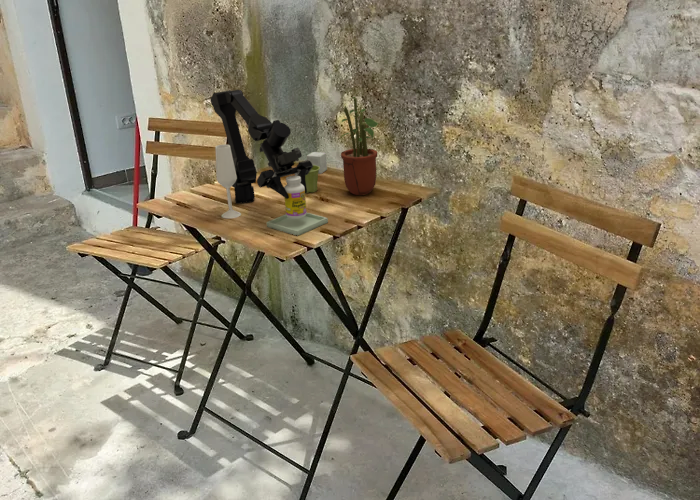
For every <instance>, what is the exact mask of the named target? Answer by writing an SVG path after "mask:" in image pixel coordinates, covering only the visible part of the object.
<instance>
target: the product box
mask: <svg viewBox="0 0 700 500" xmlns="http://www.w3.org/2000/svg"><path fill="white" fill-rule="evenodd" d="M306 160H309V161H311V163H312V165H316V166H319V167H320V169H319V173H318V175H321V174H323V173H324V172H326V171H327V170H328V165H327V164H328V163H327V153H326V152H320V151H319V152H317V151H312V152H311V153H308V154H307V155H306Z"/></svg>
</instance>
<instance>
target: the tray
mask: <svg viewBox="0 0 700 500" xmlns="http://www.w3.org/2000/svg"><path fill="white" fill-rule="evenodd" d="M327 223H329V219H328V217H325V216H322V215H318V214H314V213H310V212H307V211H306V216H304V217H302V218H298V219H292V218H288V217H287V216H286V213H285V214H283V215H281V216H278V217H276V218H274V219H270V220H268V221H266V227H267V228H269V229H271V230H272V229H274V230H277V231H278V232H279V231H280V232H282V231H283V232H282V233H286V234H290V235H292V234H293V236H296V235H297V237H299V236H301V235H303V234H306V233H309V232H310V231H313V230H315V229H317V228H319V227H321V226H323V225H326V224H327ZM298 235H299V236H298Z"/></svg>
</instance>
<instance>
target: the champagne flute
mask: <svg viewBox="0 0 700 500" xmlns="http://www.w3.org/2000/svg"><path fill="white" fill-rule="evenodd" d="M214 149H215V170H216V172H215V173H216V174H215V176H216V182H217V183H218V184H219V185H220V186H222V187H223V188H225V189H226V197H227V204H228V205H227V207H228V210H227V211H225V212H224V213H222V214H221V218H223V219H237V218H238V217H240V216H241V215H242V213H241V212H239V211H237V210H235V209H233V205H232V195H231V194H232V193H231V188H233V187H232V185H233V184H234V183H235V182H236V179H237V176H236V171H235V166H234V162H233V157H232V152H231V148H230V145H229V144H218V145H215V148H214Z"/></svg>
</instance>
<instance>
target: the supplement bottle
mask: <svg viewBox="0 0 700 500" xmlns="http://www.w3.org/2000/svg"><path fill="white" fill-rule="evenodd" d="M285 182H286V184H285V186H284V188H285V190H286V192H287V194H288V196H289V198H288V199H286V198H285V197H284V207H285V214H286V216H287V217H288V218H292V219H298V218H302V217H304V216H306V212H307V203H306V202H307V201H306V194H305V187H304V185H303V184H301V183H300V182H301V177H300V176H295V175H288V176H286V177H285Z"/></svg>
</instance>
